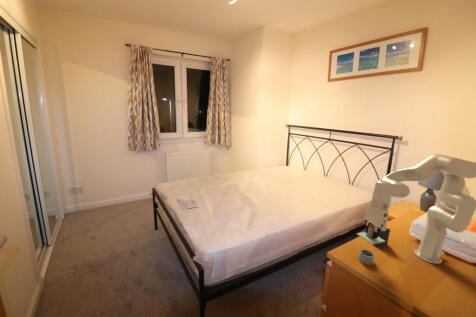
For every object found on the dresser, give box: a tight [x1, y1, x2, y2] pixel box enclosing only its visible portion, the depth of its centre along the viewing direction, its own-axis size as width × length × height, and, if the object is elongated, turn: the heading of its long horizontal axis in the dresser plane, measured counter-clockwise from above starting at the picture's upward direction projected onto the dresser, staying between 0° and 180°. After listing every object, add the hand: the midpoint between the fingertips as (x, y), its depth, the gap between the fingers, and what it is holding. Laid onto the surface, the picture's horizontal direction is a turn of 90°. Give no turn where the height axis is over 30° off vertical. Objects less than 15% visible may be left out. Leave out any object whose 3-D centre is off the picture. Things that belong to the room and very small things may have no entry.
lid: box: [356, 224, 385, 245], centre depth 121 cm, size 10×10×7 cm
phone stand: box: [372, 226, 391, 250], centre depth 140 cm, size 9×6×12 cm, turn 134°
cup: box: [357, 248, 376, 266], centre depth 124 cm, size 7×7×4 cm
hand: (371, 235), depth 121 cm, fingers closed on lid, 4 cm apart
